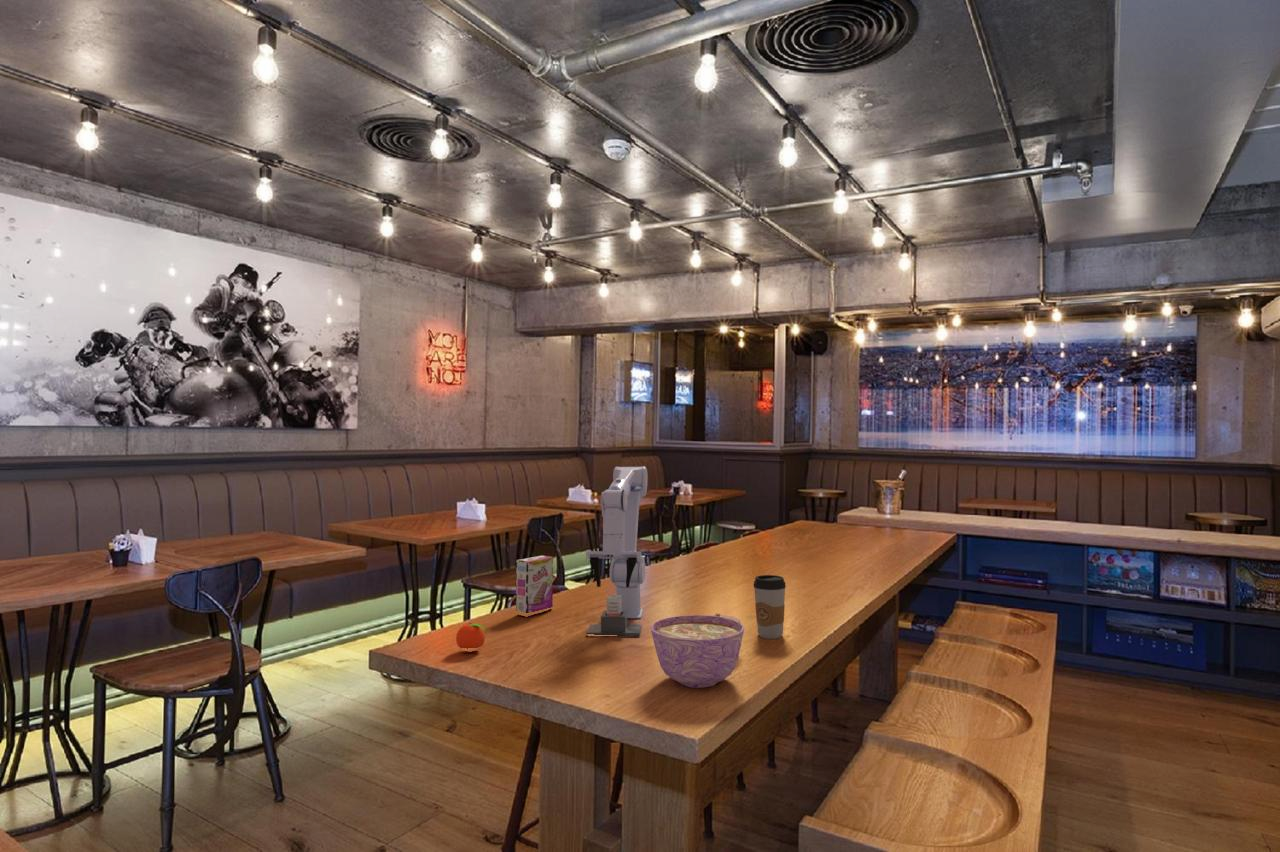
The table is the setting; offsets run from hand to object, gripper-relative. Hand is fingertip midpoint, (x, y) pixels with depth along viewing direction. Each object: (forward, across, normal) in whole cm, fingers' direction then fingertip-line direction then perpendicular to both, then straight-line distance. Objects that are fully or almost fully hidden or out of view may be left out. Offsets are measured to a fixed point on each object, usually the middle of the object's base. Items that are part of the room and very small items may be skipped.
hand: (613, 586), depth 187 cm
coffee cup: (+12, +41, +2) cm, 43 cm away
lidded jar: (+14, +27, -13) cm, 33 cm away
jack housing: (+12, 0, +4) cm, 13 cm away
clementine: (+15, -33, -14) cm, 39 cm away
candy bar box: (+10, -26, +24) cm, 37 cm away
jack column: (+11, 0, +4) cm, 12 cm away
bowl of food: (+17, +22, -33) cm, 43 cm away
